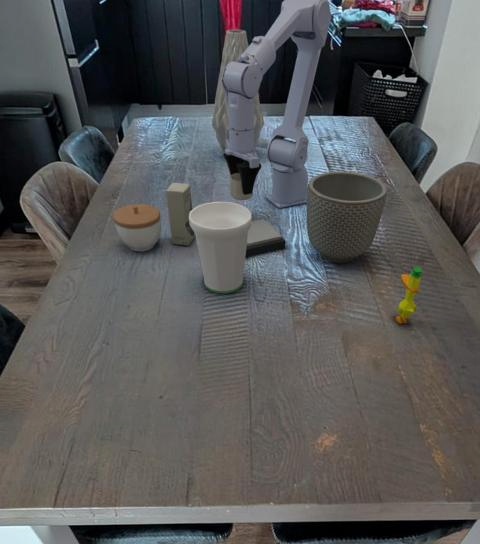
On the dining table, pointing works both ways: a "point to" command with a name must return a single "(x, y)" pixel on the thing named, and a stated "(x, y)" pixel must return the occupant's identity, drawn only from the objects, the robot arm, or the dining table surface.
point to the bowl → (238, 188)
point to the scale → (263, 239)
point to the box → (180, 213)
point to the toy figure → (409, 294)
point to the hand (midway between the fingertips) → (242, 188)
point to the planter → (343, 213)
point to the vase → (220, 119)
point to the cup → (221, 243)
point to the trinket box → (138, 226)
